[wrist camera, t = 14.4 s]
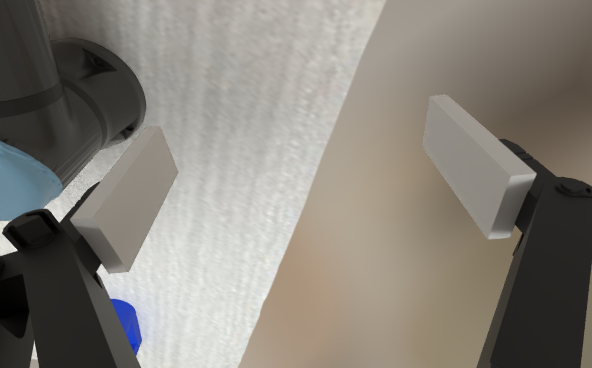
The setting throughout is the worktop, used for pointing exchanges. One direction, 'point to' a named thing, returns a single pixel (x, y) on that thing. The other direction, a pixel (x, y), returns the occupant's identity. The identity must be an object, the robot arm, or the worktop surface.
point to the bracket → (128, 322)
